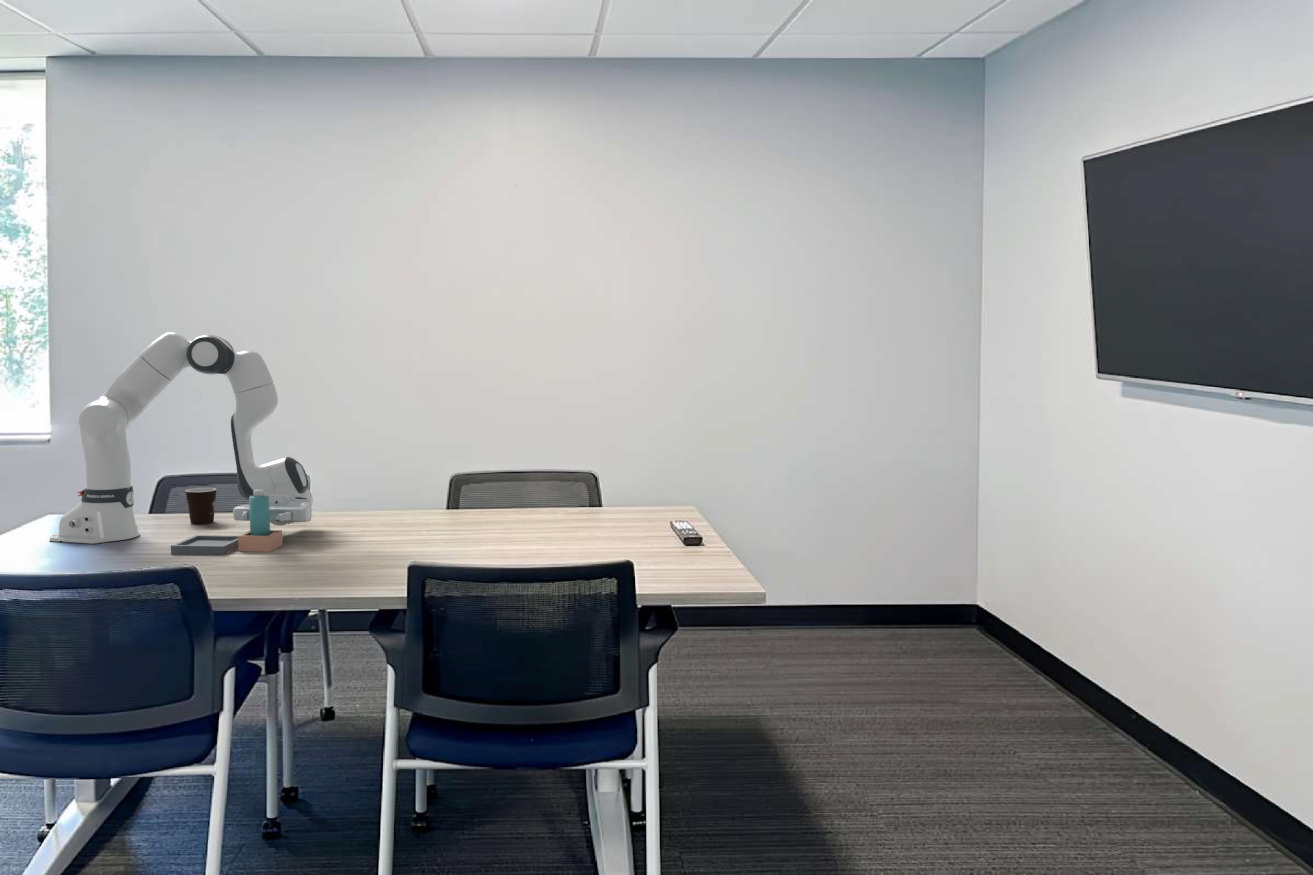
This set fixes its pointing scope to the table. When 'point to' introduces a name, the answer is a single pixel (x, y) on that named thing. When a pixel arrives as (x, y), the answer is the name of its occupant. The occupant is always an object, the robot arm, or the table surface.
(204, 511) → the coffee mug
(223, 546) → the tray
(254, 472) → the robot arm
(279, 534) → the orange open box
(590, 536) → the table surface
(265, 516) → the bottle
